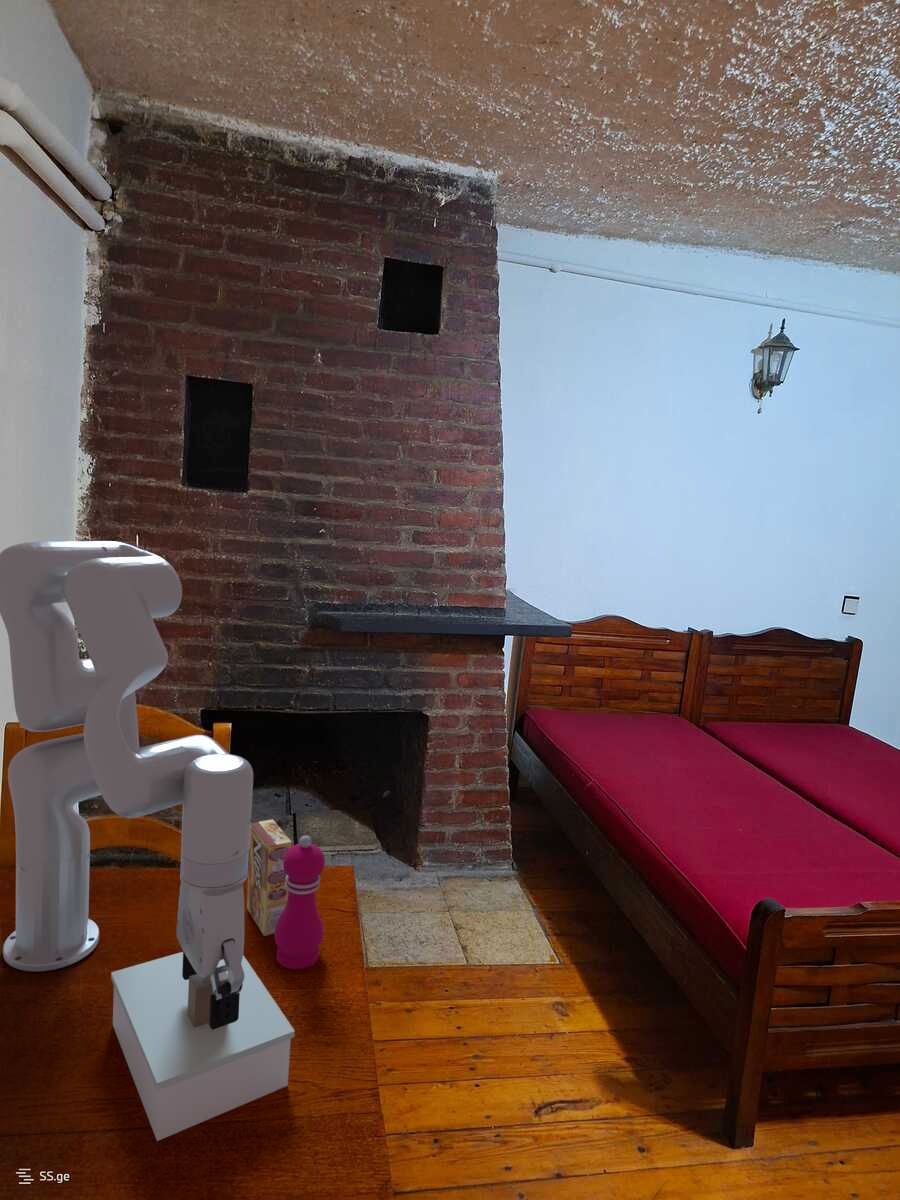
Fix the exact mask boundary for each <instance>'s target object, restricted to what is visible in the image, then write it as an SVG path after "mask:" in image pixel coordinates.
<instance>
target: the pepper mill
mask: <svg viewBox="0 0 900 1200" xmlns="http://www.w3.org/2000/svg"><path fill="white" fill-rule="evenodd" d="M312 841H313V840H312V838H311V837H310V835H303V836H301V837H300V838H299V843H296V844H294V845H292V847H291V848H290V849H289V850H288V851H287V852H286V854H285V857H284V861H283V868H284V871H285V873H286V874H287V876H286V883H285V886H286V888H287V890H288V900H287V904H286V906H285V908H284V910H283V912H282V914H281V916H280V918H279V920H278V923H277V925H276V929H275V933H274V934H273V935H274V937H273V938H274V942H275V944H276V945H277V949H276V957H275V958H276V960H277V962H278V964H280V965H281V966H283V967H284V968H287V969H292V970H300V969H306V968H309V967H312V966H313V965H314V964H316V962H318V960H319V956H320V947H319V946H320V945H321V944H322V942H323V939H324V924H323V920H322V918H321V915H320V913H319V911H318V909H317V904H316V895H317V894H316V893H317V890H318V889H319V888H320V885H321V882H320V881H321V876H320V875H321V874H322V873H323V870H324V869H325V863H326V862H325V855H324V853H323V851H322V849H321V848H320V847H318V846H317V845H316V844H315V843H312Z"/></svg>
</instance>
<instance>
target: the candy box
mask: <svg viewBox="0 0 900 1200" xmlns="http://www.w3.org/2000/svg"><path fill="white" fill-rule="evenodd" d="M292 846H293V842H292V840H291V839H290V838H289V836H287V835H286V833H285V832H284V830H283V829H282V828H280V826H279V825H278V823H277V822H276V821H275V820H274V819H267V820H262V821H257V822H256V821H255V822H251V832H250V850H249V871H248V877H247V897H246V909H247V911H248V912H249V915H250V916H251V917H252V919H253V921H254V922H255V924H256V925H257V927H258V929H259V930H260V932H261V933H262V935H263V936H264V937H266V936H270V935H275V929H276V925H277V923H278V920H279V918H280V916H281V914H282V912H283V910H284V908H285V906H286V904H287V900H288V890H287V888H286V886H285V883H286V876H287V874H286V873H285V871H284V868H283V861H284V857H285V854H286V852H287V851H288V850H289V849H290V848H291V847H292Z"/></svg>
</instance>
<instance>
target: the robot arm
mask: <svg viewBox="0 0 900 1200" xmlns="http://www.w3.org/2000/svg"><path fill="white" fill-rule="evenodd" d="M182 598H183V586H182V583H181V580H180V577H179V575H178V573H177V571H176V570H175V568H174V567H173V566H172V565H171V563H170V562H169V561H167V560H166V559H164V558H163V557H161V556H159V555H157V554H155V553H152V552H149V551H147V550H145V549H141V548H139V547H136V546H134V545H131V544H128V543H124V542H122V541H121V542H120V541H115V540H113V541H112V540H80V541H79V540H43V541H41V540H40V541H39V540H38V541H29V542H28V541H27V542H23V543H18V544H14V545H11V546H8V547H7V548H5V549H4V550H2V551H1V552H0V617H1V619H2V621H3V622H2V623H3V624H4V627H5V630H6V632H7V633H6V634H7V636H8V644H9V654H10V655H9V658H10V669H11V670H10V671H11V680H12V681H11V682H12V690H13V691H12V692H13V693H12V694H13V700H14V701H13V702H14V709H15V713H16V717H17V721H18V723H19V724H20V726H21V727H22V728H23V729H25V730H27V731H30V732H35V733H38V732H39V733H42V732H51V731H57V730H65V729H68V728H74V727H77V726H82V725H83V733H77V734H72V735H67V736H61V737H57V738H53V739H52V738H51V739H49V740H44V741H40V742H36V743H34V744H31V745H28V746H27V747H25V748H23V749H21V750H20V751H18V752H17V753H16V754H15V755H14V756H13V758H12V759H11V761H10V762H9V765H8V769H7V780H8V788H9V791H10V796H11V800H12V801H11V802H12V806H13V814H14V825H15V930H14V931H13V932H11V933H10V935H9V936H8V937H7V938H6V940H5V941H4V943H3V946H2V956H3V959H4V961H5V962H6V964H8V965H9V966H10V967H12V968H14V969H17V970H20V971H24V972H47V971H53V970H57V969H61V968H62V969H63V968H65V967H68V966H70V965H73V964H75V963H76V962H79V961H80V960H83V959H84V958H85V957H87V956H89V955H90V953H91V952H93V951H94V950H95V948H97V945H98V944H99V940H100V929H99V925H97V924H96V922H94V920H92V919H90V918H89V911H90V910H89V906H90V905H89V902H90V896H89V895H90V862H91V861H90V859H91V858H90V854H91V853H90V850H91V832H90V828H89V825H88V822H87V821H86V820H85V819H84V817H83V816H82V815H80V813H78V812H77V811H75V809H74V806H75V805H76V804H77V803H80V802H84V801H85V800H89V799H92V798H96V797H99V796H102V798H103V800H104V801H105V803H106V804H107V806H108V807H109V809H110V810H111V811H112V812H114V813H115V814H116V815H118V816H119V817H122V818H127V819H134V818H135V819H137V818H140V817H143V816H147V815H150V814H154V813H156V812H160V811H163V810H167V809H169V808H172V807H175V806H178V805H181V804H182V811H181V812H182V817H181V819H182V820H181V842H180V843H181V846H180V868H179V869H180V874H179V875H180V876H179V879H180V885H179V886H180V888H179V898H178V906H177V907H178V908H177V919H176V938H177V941H178V944H179V945H180V947H181V949H182V952H183V968H182V977H183V979H184V980H188V979H189V976H192V975H196V974H198V975H199V976H200V977H202V978H206V977H207V976H211V981H212V987H213V992H214V994H213V995H210V1016H209V1026H210V1028H211V1029H212V1030H213V1029H216V1028H219V1027H222V1026H225V1025H228V1024H230V1023H233V1022H236V1021H237V1020H238V1017H239V997H240V992H241V989H242V986H243V984H242V983H243V980H244V977H245V975H244V971H243V968H242V965H241V963H242V959H243V955H244V949H245V896H244V894H245V892H244V883H245V881H246V880H248V871H249V850H250V832H251V823H252V810H253V809H252V807H253V791H254V790H253V787H254V770H253V768H252V765H251V763H250V762H249V761H248V760H247V759H245V758H244V757H242V756H239V755H235V754H232V753H231V754H230V753H229V752H228V751H227V750H225V748H224V747H222V746H221V744H220V743H219V742H217V741H216V740H215V739H214V738H212V737H210V736H208V735H205V734H192V735H187V736H184V737H181V738H176V739H172V740H167V741H162V742H158V743H153V744H150V745H146V746H142V747H140V740H139V739H140V738H139V725H138V724H139V722H138V711H137V697H136V691H137V690H139V689H140V688H142V687H143V686H145V685H147V684H148V683H149V682H151V681H152V680H154V679H155V678H157V676H159V674H161V673H162V671H164V669H166V666H167V665H168V663H169V653H168V650H167V648H166V646H165V644H164V642H163V639H162V637H161V635H160V632H159V630H158V629H157V626H156V624H155V622H154V619H159V618H160V619H161V618H165V617H169V616H171V615H172V614H174V613H175V612H176V611H177V610H178V609H179V607H180V605H181V602H182ZM57 603H58V604H59V603H67V606H68V608H69V611H70V612H71V615H72V617H73V620H74V622H75V625H76V627H75V626H74V623H72V621H71V619H70V618H69V617H68V616H67V614H65V612H63V610H62V609H61V608H60V607H58V605H56V604H57ZM76 628H77V629H76ZM77 630H78V633H79V635H80V637H81V639H82V642H83V644H84V647H85V649H86V650H85V651H87V655H88V657H89V658H83V659H82V658H80V655H79V650H78V649H79V647H78V646H79V645H78V635H77ZM223 959H224V961H225V964H226V965H224V966H220V967H217V966H218V963H219V961H220V960H223ZM225 971H228V982H225V983H224V984H223V985H221V986H220V980H219V975H218V974H219V973H222V972H225Z"/></svg>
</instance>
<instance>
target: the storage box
mask: <svg viewBox="0 0 900 1200" xmlns="http://www.w3.org/2000/svg"><path fill="white" fill-rule="evenodd" d="M112 1002H113V1003H112V1005H113V1007H112V1008H113V1009H112V1012H113V1013H112V1014H113V1015H112V1027H113V1029H114V1032H115V1035H116V1037H117V1041H118V1043H119V1045H120V1048H121V1051H122V1053H123V1055H124V1058H125V1061H126V1063H127V1067H128V1068H129V1071H130V1074H131V1077H132V1079H133V1083H134V1084H135V1088H136V1089H137V1093H138V1095H139V1098H140V1101H141V1102H142V1105H143V1108H144V1111H145V1114H146V1116H147V1119H148V1121H149V1124H150V1127H151V1129H152V1132H153V1134H154V1137H155V1139H156V1142H158V1141H160V1140H163V1139H166V1138H167V1137H171V1136H172V1135H176V1134H178V1133H180V1132H181V1131H185V1130H187V1129H189V1128H192V1127H193V1126H196V1125H199V1124H201V1123H203V1122H205V1121H208V1120H211V1119H213V1118H214V1117H217V1116H219V1115H221V1114H224V1113H227V1112H229V1111H231V1110H234V1109H236V1108H239V1107H241V1106H243V1105H246V1104H248V1103H250V1102H253V1101H255V1100H258V1099H259V1098H262V1097H264V1096H267V1095H269V1094H272V1093H274V1092H276V1091H278V1090H282V1089H284V1088H286V1087H288V1083H289V1073H290V1072H289V1071H290V1068H289V1067H290V1056H291V1041H292V1040H291V1039H292V1038H290V1039H288V1040H285V1041H283V1042H280V1043H278V1044H275V1045H272V1046H270V1047H267V1048H265V1049H262V1050H259V1051H257V1052H254V1053H252V1054H249V1055H246V1056H244V1057H241V1058H239V1059H236V1060H233V1061H231V1062H228V1063H226V1064H223V1065H220V1066H218V1067H215V1068H213V1069H210V1070H207V1071H205V1072H202V1073H200V1074H197V1075H195V1076H192V1077H189V1078H187V1079H184V1080H182V1081H179V1082H176V1083H174V1084H171V1085H169V1086H166V1087H163V1088H161V1089H158V1090H157V1089H156V1087H155V1084H154V1082H153V1079H152V1077H151V1074H150V1072H149V1070H148V1067H147V1065H146V1062H145V1060H144V1057H143V1055H142V1052H141V1050H140V1048H139V1045H138V1043H137V1040H136V1038H135V1035H134V1033H133V1031H132V1028H131V1026H130V1023H129V1021H128V1018H127V1016H126V1013H125V1011H124V1009H123V1006H122V1004H121V1001H120V999H119V996H118V994H117V992H116V989H115V987H114V986H113V1001H112Z"/></svg>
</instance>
